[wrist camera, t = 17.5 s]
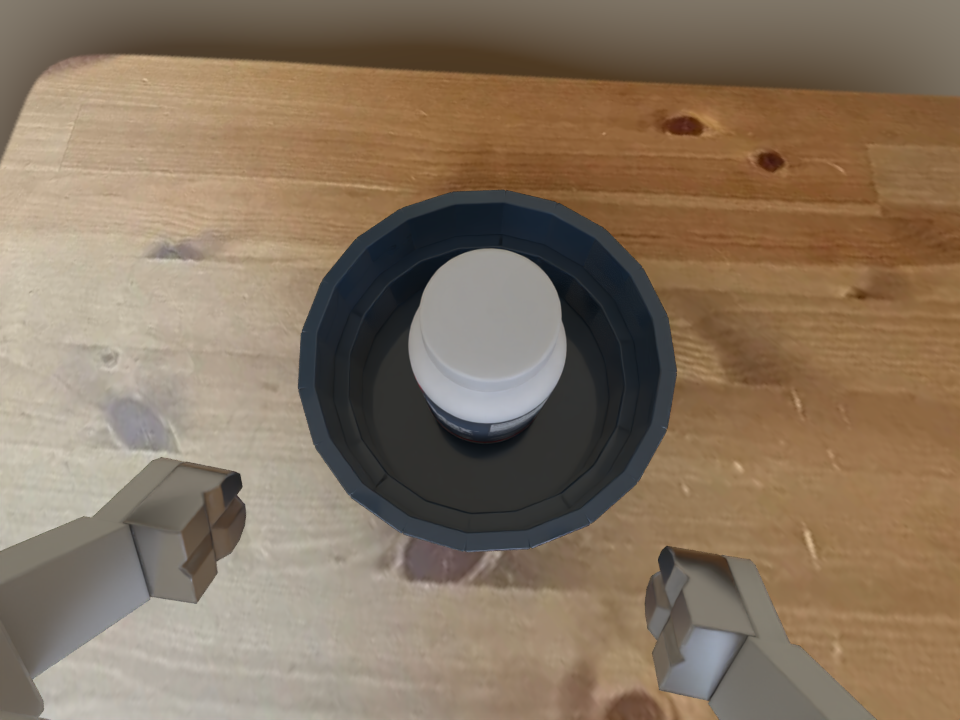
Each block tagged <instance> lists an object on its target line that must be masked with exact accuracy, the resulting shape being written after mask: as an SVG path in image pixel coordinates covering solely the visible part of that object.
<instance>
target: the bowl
mask: <svg viewBox="0 0 960 720" xmlns="http://www.w3.org/2000/svg"><path fill="white" fill-rule="evenodd" d="M490 248H493V249H502V250H508V251H511V252H514V253H517V254H519V255H522V256H524V257H526V258H527V259H529V260H531V261H532V262H534V263H535V264H536V265H538V266H539V267H540V268H541V269H542V270H543V271H544V272H545V273H546V275H547V276H548V277H549V278H550V280H551V281H552V283H553V285H554V287H555V289H556V291H557V293H558V297H559V300H560V304H561V314H562V317H561V320H562V323H563V326H564V330H565V335H566V344H567V351H566V359H565V364H564V368H563V371H562V374H561V376H560V379H559V381H558V383H557V385H556V386H555V388H554V390H553V391H552V393H551V394H550V396H549V398H548V399H547V401H546V402H545V404H544V405H543V407H542V408H541V410H540V412H539V413H538V415H537V416H536V417H535V419H534V420H533V421H532V422H531V424H530V425H529V426H528V427H527V428H525V429H524V430H523V431H522V432H521V433H519V434H517V435H516V436H514V437H512V438H510V439H507V440H505V441H502V442H497V443H490V444H480V443H473V442H469V441H465V440H463V439H460V438H458V437H456V436H454V435H453V434H451V433H450V432H448V431H447V430H446V429H445V428H444V427H442V425H441V424H440V423H439V422H438V421H437V420H436V418H435V417H434V415H433V414H432V412H431V410H430V408H429V406H428V404H427V401H426V399H425V397H424V394H423V392H422V390H421V388H420V386H419V384H418V382H417V380H416V378H415V375H414V373H413V370H412V367H411V362H410V358H409V348H408V341H409V333H410V328H411V324H412V321H413V318H414V316H415V314H416V312H417V310H418V308H419V306H420V302H421V298H422V294H423V292H424V289H425V287H426V286H427V284H428V282H429V281H430V279H431V277H432V276H433V275H434V274H435V272H436V271H437V270H438V269H439V268H440V267H441V266H443V265H444V264H445V263H447V262H448V261H449V260H451V259H453V258H454V257H457V256H458V255H460V254H463V253H466V252H469V251H473V250H477V249H490ZM676 372H677V368H676V362H675V356H674V349H673V343H672V337H671V331H670V325H669V319H668V317H667V313H666V311H665V309H664V307H663V306H662V304H661V302H660V300H659V298H658V296H657V294H656V292H655V290H654V288H653V286H652V284H651V282H650V280H649V278H648V276H647V275H646V273H645V271H644V269H643V268H642V266H641V265H640V264H639V263H638V262H637V261H636V260H635V259H634V258H633V257H632V256H631V255H630V254H629V253H628V252H627V251H626V250H625V249H624V248H623V247H622V246H621V244H620V243H619V242H618V241H617V240H616V239H615V238H614V237H613V236H612V235H611V234H610V233H609V232H608V231H607V230H606V229H604V228H603V227H601V226H599V225H598V224H596V223H594V222H592V221H590V220H589V219H587V218H585V217H583V216H581V215H580V214H578V213H576V212H574V211H572V210H571V209H569V208H567V207H565V206H563V205H562V204H560V203H557V202H555V201H550V200H546V199H542V198H538V197H534V196H529V195H525V194H521V193H517V192H513V191H508V190H506V191H505V190H483V191H457V192H452V193H451V192H450V193H447V194H444V195H440V196H437V197H434V198H431V199H428V200H425V201H422V202H419V203H416V204H413V205H409V206H406V207H403V208H402V209H399V210H397V211H396V212H394V213H393V214H391V215H390V216H388V217H387V218H385V219H384V220H382V221H381V222H380V223H378V224H377V225H375V226H374V227H372V228H371V229H369V230H368V231H366V232H365V233H363V234H362V235H360V236H359V237H357V239H355V240H354V241H353V243H352V244H351V245H350V246H349V248H348V249H347V250H346V251H345V252H344V254H343V255H342V256H341V257H340V259H339V260H338V261H337V262H336V263H335V265H334V266H333V267H332V268H331V270H330V271H329V272H328V273H327V274H326V276H325V277H324V278H323V280H322V282H321V284H320V286H319V289H318V291H317V294H316V296H315V299H314V301H313V304H312V306H311V309H310V311H309V314H308V316H307V319H306V321H305V324H304V326H303V329H302V333H301V341H300V359H299V377H298V389H299V395H300V398H301V402H302V405H303V409H304V413H305V416H306V420H307V423H308V427H309V430H310V434H311V437H312V441H313V444H314V445H315V448H316V450H317V451H318V453H319V454H320V455H321V457H322V458H323V460H324V461H325V463H326V464H327V465H328V467H329V468H330V470H331V471H332V473H333V474H334V475H335V477H336V478H337V480H338V481H339V482H340V484H341V485H342V487H343V488H344V490H345V491H346V492H347V494H348V495H349V496H351V498H352V499H353V500H355V501H356V502H357V503H359V504H360V505H362V506H363V507H364V508H366V509H367V510H369V511H370V512H372V513H373V514H374V515H376V516H377V517H379V518H380V519H381V520H383V521H384V522H386V523H387V524H388V525H390V526H391V527H393V528H394V529H395V530H397V531H398V532H400V533H403V534H404V535H407V536H410V537H413V538H417V539H420V540H424V541H427V542H431V543H434V544H437V545H441V546H444V547H448V548H451V549H455V550H458V551H461V552H464V551H465V552H485V551H504V550H524V549H530V548H535V547H537V546H540V545H542V544H545V543H547V542H550V541H552V540H555V539H557V538H559V537H562V536H564V535H567V534H569V533H572V532H574V531H577V530H579V529H582V528H584V527H587V526H589V525H590V524H592V523H593V522H595V521H596V520H597V519H598V518H599V517H600V516H601V515H602V514H604V513H605V512H606V511H607V510H608V509H609V508H610V507H611V506H613V505H614V504H615V503H616V502H617V501H618V500H619V499H621V498H622V497H623V496H624V495H625V494H626V493H627V492H628V491H630V490H631V489H632V488H633V487H634V486H635V485H636V484H637V482H638V481H639V480H640V479H641V477H642V475H643V473H644V471H645V470H646V468H647V466H648V464H649V462H650V461H651V459H652V457H653V455H654V453H655V451H656V450H657V448H658V446H659V444H660V442H661V441H662V439H663V437H664V435H665V433H666V431H667V430H666V429H667V428H668V423H669V418H670V412H671V406H672V400H673V394H674V388H675V382H676V376H677V373H676Z"/></svg>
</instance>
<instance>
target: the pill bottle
mask: <svg viewBox="0 0 960 720" xmlns="http://www.w3.org/2000/svg"><path fill="white" fill-rule="evenodd" d="M561 317H562V314H561V304H560V300H559V297H558V293H557V291H556V289H555V287H554V285H553V283H552V281H551V280H550V278H549V277H548V276H547V275H546V273H545V272H544V271H543V270H542V269H541V268H540V267H539V266H538V265H536V264H535V263H534V262H532V261H531V260H529V259H527V258H526V257H524V256H522V255H519V254H517V253H514V252H511V251H508V250H502V249H493V248H490V249H477V250H473V251H469V252H466V253H463V254H460V255H458V256H457V257H454V258H453V259H451V260H449V261H448V262H447V263H445V264H444V265H443V266H441V267H440V268H439V269H438V270H437V271H436V272H435V274H434V275H433V276H432V277H431V279H430V281H429V282H428V284H427V286H426V287H425V289H424V292H423V294H422V298H421V302H420V306H419V308H418V310H417V312H416V314H415V316H414V318H413V321H412V324H411V328H410V333H409V341H408V348H409V358H410V362H411V367H412V370H413V373H414V375H415V378H416V380H417V382H418V384H419V386H420V388H421V390H422V392H423V394H424V397H425V399H426V401H427V404H428V406H429V408H430V410H431V412H432V414H433V415H434V417H435V418H436V420H437V421H438V422H439V423H440V424H441V425H442V427H444V428H445V429H446V430H447V431H448V432H450V433H451V434H453V435H454V436H456V437H458V438H460V439H463V440H465V441H469V442H473V443H480V444H490V443H497V442H502V441H505V440H507V439H510V438H512V437H514V436H516V435H517V434H519V433H521V432H522V431H523V430H524V429H525V428H527V427H528V426H529V425H530V424H531V422H532V421H533V420H534V419H535V417H536V416H537V415H538V413H539V412H540V410H541V408H542V407H543V405H544V404H545V402H546V401H547V399H548V398H549V396H550V394H551V393H552V391H553V390H554V388H555V386H556V385H557V383H558V381H559V379H560V376H561V374H562V371H563V368H564V364H565V359H566V351H567V344H566V335H565V330H564V326H563V323H562V320H561Z"/></svg>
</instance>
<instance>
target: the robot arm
mask: <svg viewBox="0 0 960 720" xmlns="http://www.w3.org/2000/svg"><path fill="white" fill-rule="evenodd" d="M242 487H243V486H242V481H241V476H240V474H239V473H237V472H235V471H230V470H226V469H221V468H216V467H211V466H206V465H201V464H196V463H191V462H183V461H178V460H173V459H168V458H163V457H161V458H158V459H155V460H153V461H151V462H150V463H149V464H148V465H147V466H146V467H145V468H144V469H143V470H142V471H141V472H140V473H139V474H138V475H136V476H135V477H134V478H133V479H132V480H131V481H130V482H129V483H128V484H127V485H126V486H125V487H124V488H123V489H122V490H120V491H119V492H118V493H117V494H116V495H115V496H114V497H113V498H112V499H111V500H110V501H109V502H108V503H107V504H106V505H104V506H103V507H102V508H101V509H100V510H99V511H98V512H97V513H96V514H95V515H94V516H93V517H92V518H91V517H84V516H83V517H81V518H78V519H76V520H74V521H71V522H69V523H66V524H64V525H62V526H59V527H57V528H54V529H52V530H50V531H47V532H45V533H42V534H40V535H38V536H35V537H33V538H30V539H28V540H26V541H23V542H21V543H18V544H16V545H14V546H11V547H9V548H7V549H4V550H2V551H0V720H49V719H44V718H39V716H40V715H41V713H42V712H43V711H44V701H43V699H42V697H41V695H40V693H39V691H38V689H37V688H36V686H35V684H34V682H33V680H32V679H34V678H35V677H37V676H38V675H40V674H41V673H43V672H44V671H45V670H47V669H48V668H50V667H51V666H53V665H54V664H56V663H57V662H59V661H60V660H62V659H63V658H65V657H66V656H68V655H69V654H71V653H72V652H74V651H75V650H76V649H78V648H79V647H81V646H82V645H84V644H85V643H87V642H88V641H90V640H91V639H93V638H94V637H96V636H97V635H99V634H100V633H102V632H103V631H105V630H106V629H107V628H109V627H110V626H112V625H113V624H115V623H116V622H118V621H119V620H121V619H122V618H124V617H125V616H127V615H128V614H130V613H131V612H133V611H134V610H136V609H137V608H138V607H140V606H141V605H143V604H144V603H146V602H147V601H149V600H150V597H156V598H162V599H169V600H175V601H181V602H188V603H194V604H197V602H198V601H199V600H200V598H201V597H202V595H203V594H204V592H205V591H206V589H207V588H208V586H209V585H210V583H211V582H212V581H213V579H214V578H215V576H216V575H217V573H218V571H217V561H218V560H220V559H222V558H224V557H225V556H227V555H229V554H231V553H232V551H233V549H234V548H235V546H236V545H237V543H238V542H239V540H240V537H241V535H242V532H243V529H244V527H245V520H246V508H245V504H244V503H243V502H242V500H241V499H240V498H239V497H238V496H237V494H238V493H239V491H240V490H241V489H242ZM658 563H659V567H660V571H659V572H657V573H656V574H654V575H652V576H651V578H650V581H649V583H648V586H647V589H646V597H645V616H646V622H647V628H648V630H649V631H650V632H651V634H652V635H653V636H654V637H655V638H656V640H657V643H656V645H655V647H654V649H653V651H652V655H653V660H654V665H655V671H656V676H657V681H658V686H659V690H661V691H665V692H670V693H675V694H679V695H684V696H689V697H693V698H698V699H703V700H707V701H709V703H708V704H709V705H710V707H711V708H712V710H713V711H714V713H715V714H716V715H717V717H718V718H719V720H877V719H876V718H875V717H874V716H873V715H871V714H870V713H869V712H868V711H867V710H866V709H865V708H864V707H863V706H862V705H861V704H860V703H859V702H858V701H857V700H856V699H855V698H854V697H853V696H852V695H851V694H850V693H848V692H847V691H846V690H845V689H844V688H843V687H842V686H841V685H840V684H839V683H838V682H837V681H836V680H835V679H834V678H833V677H832V676H831V675H830V674H829V673H828V672H827V671H825V670H824V669H823V668H822V667H821V666H820V665H819V664H818V663H817V662H816V661H815V660H814V659H813V658H812V657H811V656H810V655H809V654H808V653H807V652H806V651H805V650H804V649H803V648H801V647H800V646H799V645H794V644H790V642H789V639H788V637H787V635H786V633H785V630H784V628H783V626H782V624H781V621H780V619H779V617H778V615H777V612H776V610H775V608H774V606H773V603H772V601H771V599H770V597H769V594H768V592H767V590H766V588H765V585H764V583H763V581H762V579H761V576H760V574H759V572H758V570H757V568H756V565H755V564H754V563H753V562H752V561H751V560H750V559H744V558H738V557H731V556H725V555H718V554H713V553H707V552H701V551H695V550H689V549H682V548H676V547H670V546H666V547H665V548H664V549H663V550H662V551H661V554H660V556H659V558H658Z"/></svg>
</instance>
